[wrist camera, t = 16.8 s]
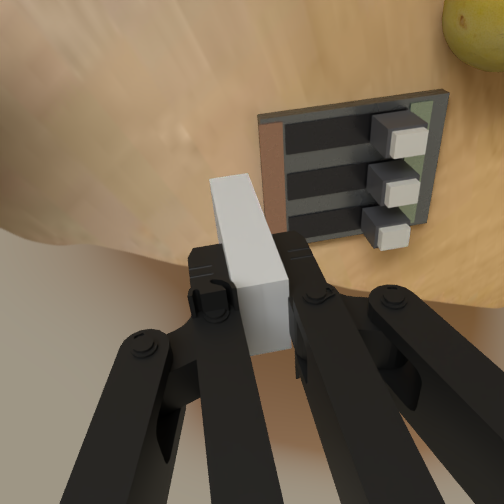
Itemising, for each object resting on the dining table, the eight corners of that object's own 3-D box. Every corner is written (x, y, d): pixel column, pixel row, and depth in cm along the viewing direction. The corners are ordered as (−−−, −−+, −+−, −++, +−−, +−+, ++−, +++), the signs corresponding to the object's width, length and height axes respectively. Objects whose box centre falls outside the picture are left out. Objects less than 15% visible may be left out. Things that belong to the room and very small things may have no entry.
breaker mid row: (366, 188, 51) (384, 211, 47) (368, 164, 50) (387, 185, 46) (399, 183, 52) (420, 205, 48) (403, 159, 50) (424, 179, 46)
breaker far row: (369, 143, 48) (389, 162, 44) (372, 115, 46) (392, 132, 42) (405, 137, 48) (428, 156, 44) (409, 109, 47) (433, 126, 43)
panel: (265, 242, 56) (267, 250, 54) (255, 114, 46) (258, 120, 45) (420, 216, 58) (427, 223, 56) (442, 88, 48) (450, 93, 47)
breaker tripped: (360, 229, 55) (377, 253, 51) (362, 208, 53) (379, 231, 49) (392, 224, 55) (411, 247, 51) (395, 203, 53) (414, 225, 49)
